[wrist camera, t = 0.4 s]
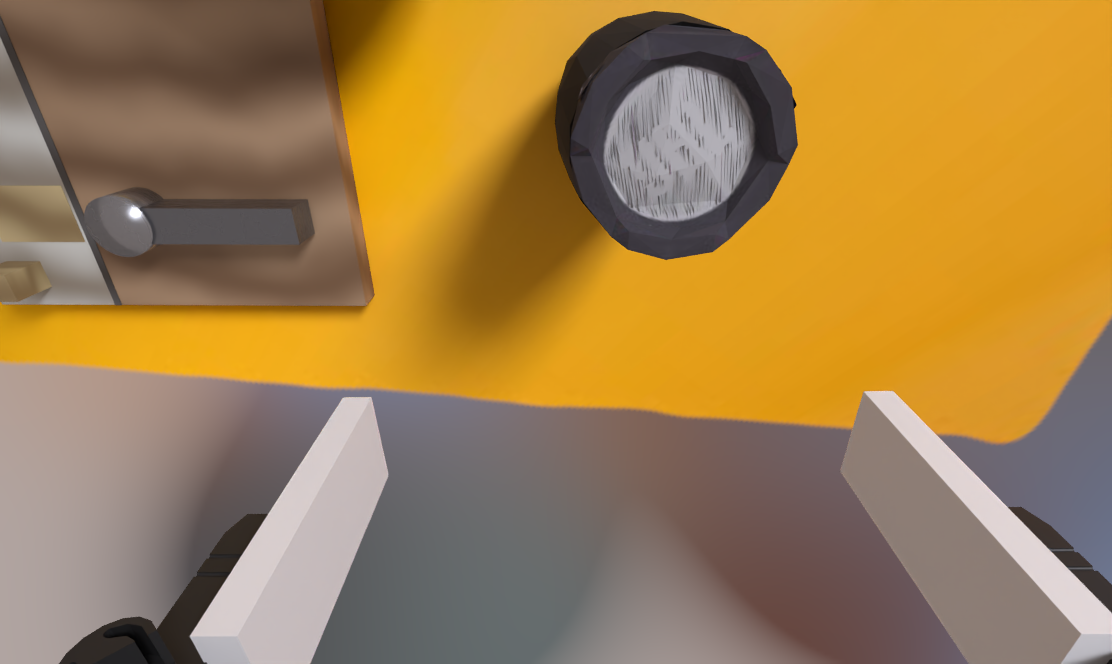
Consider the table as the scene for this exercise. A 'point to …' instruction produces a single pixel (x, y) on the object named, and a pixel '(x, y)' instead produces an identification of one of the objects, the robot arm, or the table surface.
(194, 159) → the board
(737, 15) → the table surface
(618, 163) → the portable speaker
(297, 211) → the door lever handle
